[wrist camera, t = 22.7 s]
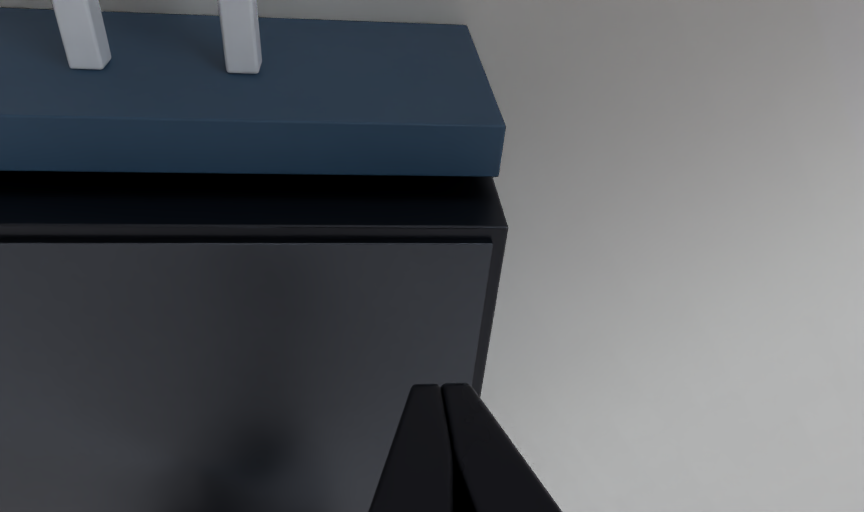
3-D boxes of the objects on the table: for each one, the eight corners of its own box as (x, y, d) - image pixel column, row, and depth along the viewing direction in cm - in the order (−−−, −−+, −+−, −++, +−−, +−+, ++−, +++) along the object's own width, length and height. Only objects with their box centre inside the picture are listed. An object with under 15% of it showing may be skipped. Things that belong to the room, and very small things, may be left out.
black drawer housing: (429, 405, 28) (450, 591, 22) (71, 414, 26) (-15, 617, 20) (461, 75, 19) (510, 231, 13) (-70, 60, 17) (-296, 229, 11)
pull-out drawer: (431, 387, 27) (447, 526, 22) (62, 396, 25) (-5, 547, 20) (488, -194, 15) (549, -164, 10) (-194, -245, 13) (-492, -237, 9)
